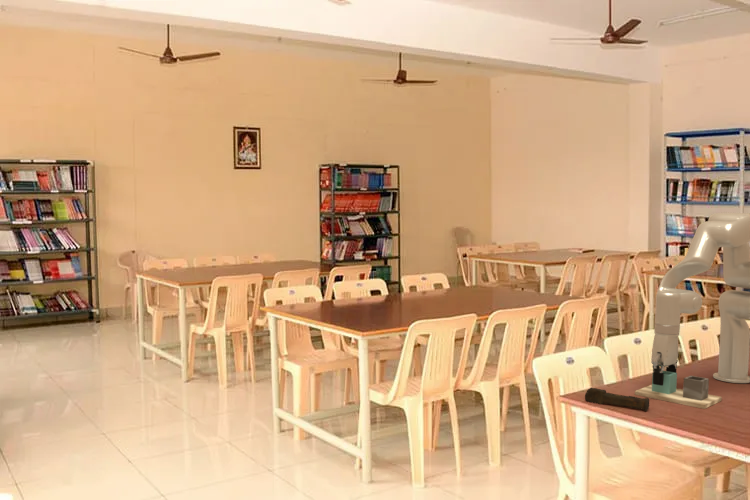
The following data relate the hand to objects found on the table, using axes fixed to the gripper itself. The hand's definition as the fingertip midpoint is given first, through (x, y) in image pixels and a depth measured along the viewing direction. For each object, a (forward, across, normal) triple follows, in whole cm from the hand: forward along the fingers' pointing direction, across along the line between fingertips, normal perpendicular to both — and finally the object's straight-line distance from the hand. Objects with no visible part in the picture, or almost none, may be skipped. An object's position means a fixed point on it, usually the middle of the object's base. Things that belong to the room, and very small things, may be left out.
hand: (664, 382), depth 242 cm
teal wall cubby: (+3, 0, 0) cm, 3 cm away
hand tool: (+5, +24, -4) cm, 25 cm away
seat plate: (+4, 0, +4) cm, 6 cm away
